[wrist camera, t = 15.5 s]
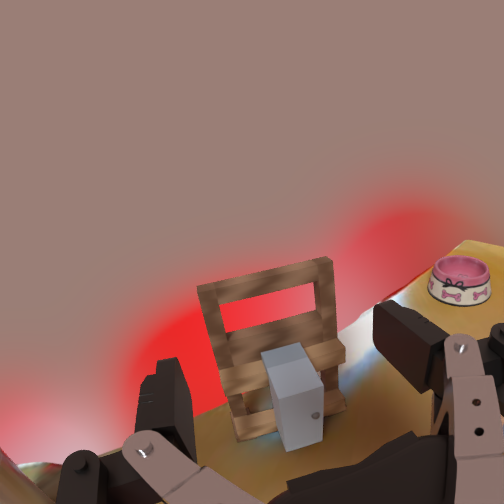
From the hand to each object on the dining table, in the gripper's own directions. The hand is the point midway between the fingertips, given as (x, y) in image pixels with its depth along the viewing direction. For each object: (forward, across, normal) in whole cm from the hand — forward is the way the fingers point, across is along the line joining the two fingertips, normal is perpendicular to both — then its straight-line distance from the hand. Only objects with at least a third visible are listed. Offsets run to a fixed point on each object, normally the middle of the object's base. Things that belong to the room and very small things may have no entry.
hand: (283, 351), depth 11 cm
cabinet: (+18, -4, +28) cm, 33 cm away
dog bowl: (+40, -57, +30) cm, 76 cm away
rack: (+23, -4, +30) cm, 38 cm away
